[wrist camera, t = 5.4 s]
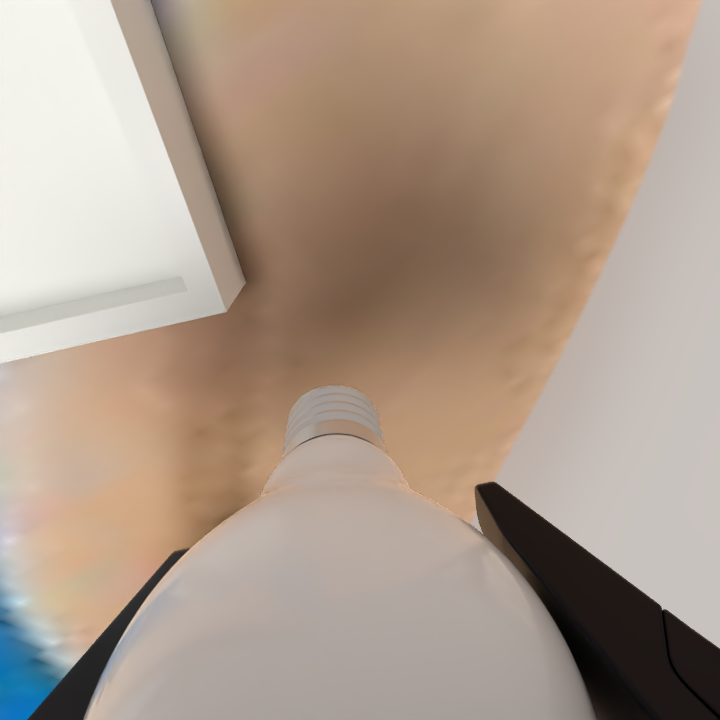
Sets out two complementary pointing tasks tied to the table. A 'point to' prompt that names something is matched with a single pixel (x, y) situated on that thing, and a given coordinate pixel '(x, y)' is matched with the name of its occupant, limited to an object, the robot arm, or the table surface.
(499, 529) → the robot arm
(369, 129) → the table surface
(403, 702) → the lightbulb
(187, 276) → the tray
